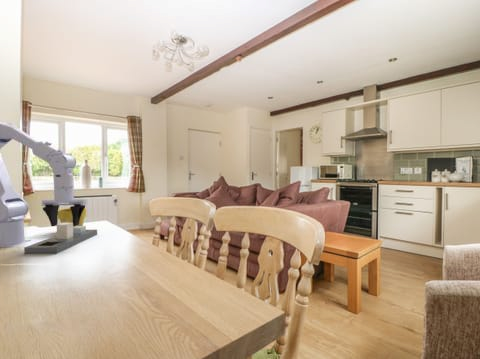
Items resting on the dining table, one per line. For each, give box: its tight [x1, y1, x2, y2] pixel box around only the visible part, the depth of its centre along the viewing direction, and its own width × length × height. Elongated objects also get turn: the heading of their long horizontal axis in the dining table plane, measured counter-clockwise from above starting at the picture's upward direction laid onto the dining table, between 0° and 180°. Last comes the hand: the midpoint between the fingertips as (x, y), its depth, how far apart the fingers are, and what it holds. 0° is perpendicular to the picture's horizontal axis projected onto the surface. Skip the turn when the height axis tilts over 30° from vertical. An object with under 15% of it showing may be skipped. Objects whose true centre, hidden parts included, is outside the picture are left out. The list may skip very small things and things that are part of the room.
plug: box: [56, 222, 73, 239], centre depth 93 cm, size 4×4×7 cm
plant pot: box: [57, 207, 87, 227], centre depth 112 cm, size 10×10×10 cm
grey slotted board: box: [23, 229, 98, 255], centre depth 93 cm, size 10×24×2 cm, turn 1°
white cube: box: [73, 225, 87, 234], centre depth 101 cm, size 4×4×4 cm
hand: (65, 225), depth 93 cm, fingers open, 7 cm apart
